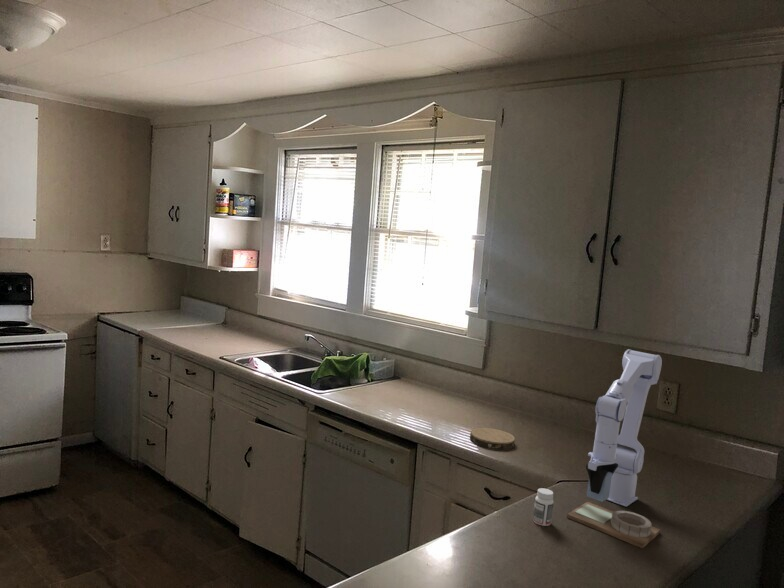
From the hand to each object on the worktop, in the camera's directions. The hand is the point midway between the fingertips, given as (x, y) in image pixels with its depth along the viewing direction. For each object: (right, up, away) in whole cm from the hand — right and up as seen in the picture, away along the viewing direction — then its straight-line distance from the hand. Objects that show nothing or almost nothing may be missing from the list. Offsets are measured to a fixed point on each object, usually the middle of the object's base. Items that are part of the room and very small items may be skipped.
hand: (598, 490), depth 163 cm
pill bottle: (-17, -7, -5) cm, 19 cm away
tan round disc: (-20, -1, +56) cm, 59 cm away
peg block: (0, -2, 0) cm, 2 cm away
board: (+3, -8, -3) cm, 9 cm away
